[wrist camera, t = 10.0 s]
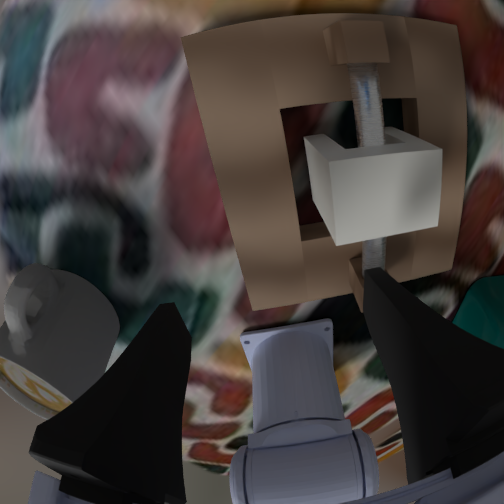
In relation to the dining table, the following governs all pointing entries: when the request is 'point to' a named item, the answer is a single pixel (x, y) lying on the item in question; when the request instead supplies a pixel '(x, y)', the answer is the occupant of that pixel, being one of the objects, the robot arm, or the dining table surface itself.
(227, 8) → the dining table surface
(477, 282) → the teal bottle
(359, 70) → the hook bar
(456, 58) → the shelf
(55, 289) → the coffee mug
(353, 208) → the grey u-slotted block
